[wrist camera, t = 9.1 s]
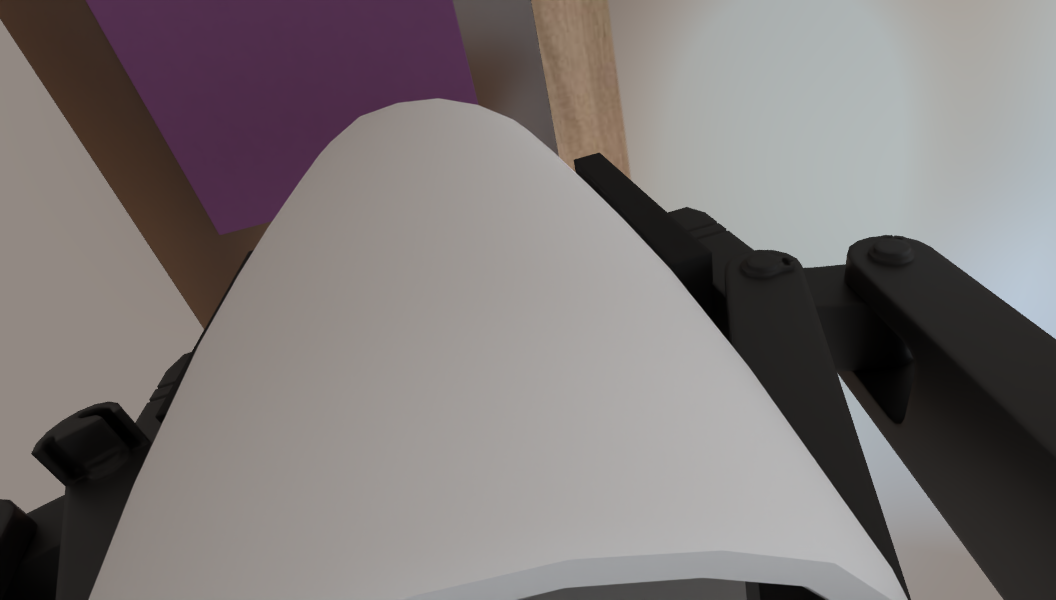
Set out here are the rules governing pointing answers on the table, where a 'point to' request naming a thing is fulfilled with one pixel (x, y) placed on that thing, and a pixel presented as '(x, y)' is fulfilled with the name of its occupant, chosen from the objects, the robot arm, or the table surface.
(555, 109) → the table surface
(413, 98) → the purple rectangular slab
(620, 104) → the table surface
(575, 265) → the cup
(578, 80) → the table surface
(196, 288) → the box
